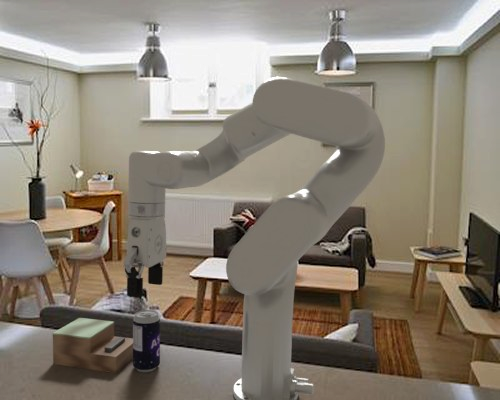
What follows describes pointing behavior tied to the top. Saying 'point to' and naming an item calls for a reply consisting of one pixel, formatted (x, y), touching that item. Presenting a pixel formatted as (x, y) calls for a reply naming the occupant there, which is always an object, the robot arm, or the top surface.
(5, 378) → the top surface
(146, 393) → the top surface
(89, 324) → the stand
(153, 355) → the beverage can
